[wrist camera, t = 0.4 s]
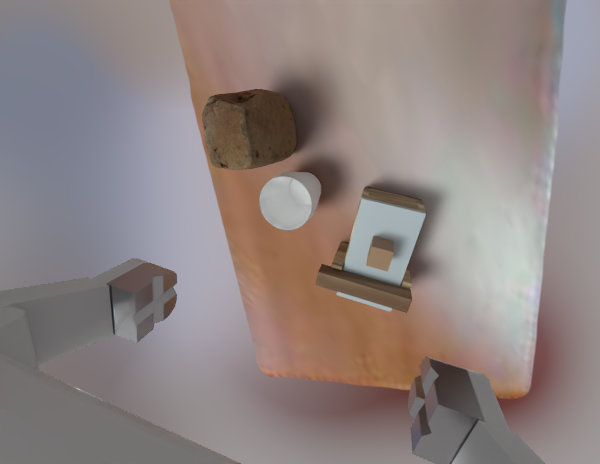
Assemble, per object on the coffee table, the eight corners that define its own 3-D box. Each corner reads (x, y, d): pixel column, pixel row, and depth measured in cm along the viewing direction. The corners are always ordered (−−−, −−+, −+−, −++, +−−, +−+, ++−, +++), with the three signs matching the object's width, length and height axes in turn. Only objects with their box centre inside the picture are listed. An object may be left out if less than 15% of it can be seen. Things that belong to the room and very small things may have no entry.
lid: (362, 196, 45) (359, 206, 40) (425, 211, 43) (430, 223, 38) (337, 291, 52) (332, 309, 47) (390, 307, 50) (391, 328, 45)
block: (299, 158, 54) (254, 173, 36) (262, 158, 56) (203, 174, 38) (296, 94, 50) (245, 76, 32) (257, 98, 52) (188, 82, 34)
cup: (324, 214, 56) (309, 235, 45) (281, 207, 58) (257, 226, 47) (330, 168, 53) (315, 179, 42) (284, 162, 55) (259, 171, 44)
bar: (322, 264, 49) (318, 272, 47) (410, 289, 46) (412, 299, 44) (319, 276, 50) (315, 284, 48) (405, 302, 47) (407, 312, 45)
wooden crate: (355, 184, 53) (348, 197, 43) (429, 201, 50) (438, 218, 41) (334, 268, 60) (324, 294, 50) (398, 287, 57) (400, 318, 48)
